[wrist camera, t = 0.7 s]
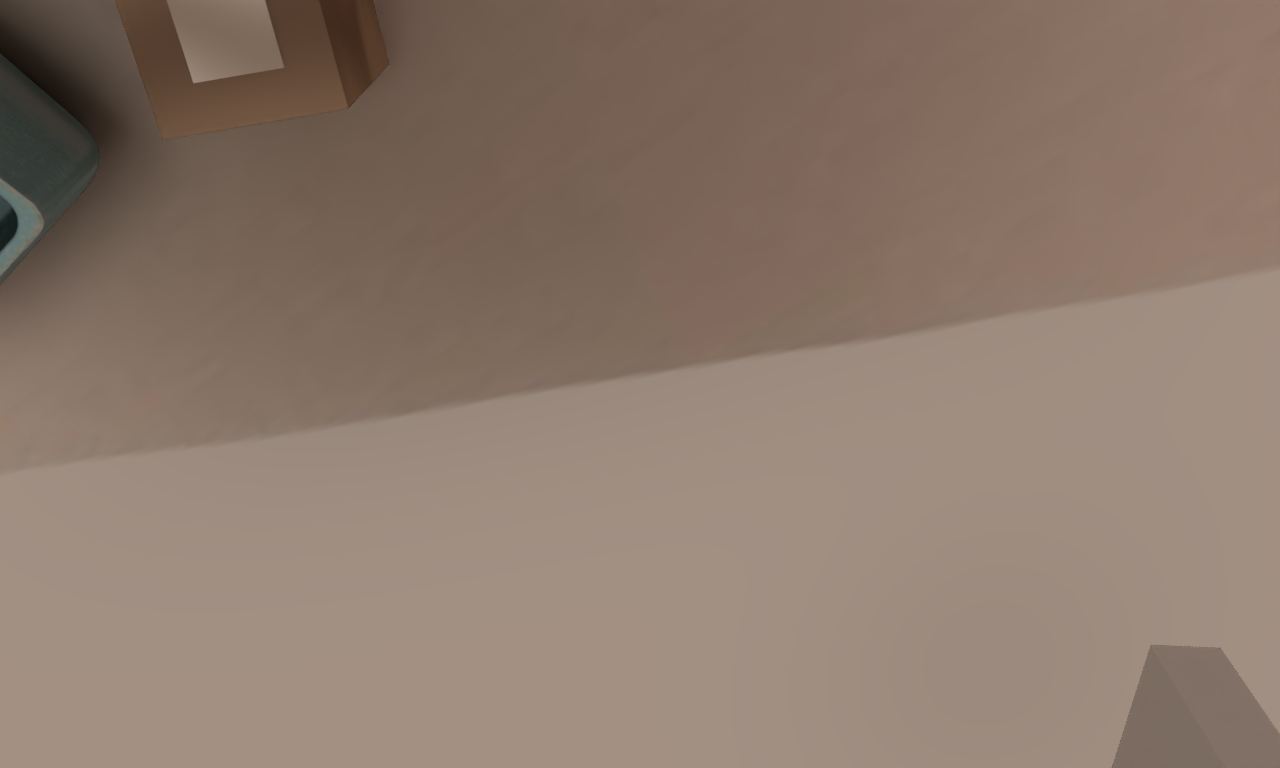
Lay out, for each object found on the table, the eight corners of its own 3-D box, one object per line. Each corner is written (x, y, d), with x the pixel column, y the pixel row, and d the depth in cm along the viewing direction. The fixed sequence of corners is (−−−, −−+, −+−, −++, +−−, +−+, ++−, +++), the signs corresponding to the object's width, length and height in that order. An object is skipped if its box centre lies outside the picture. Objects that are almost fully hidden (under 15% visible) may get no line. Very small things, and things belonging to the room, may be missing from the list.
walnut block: (177, -81, 35) (92, -60, 29) (344, -111, 34) (291, -96, 29) (230, 91, 37) (161, 141, 31) (389, 64, 36) (347, 109, 31)
